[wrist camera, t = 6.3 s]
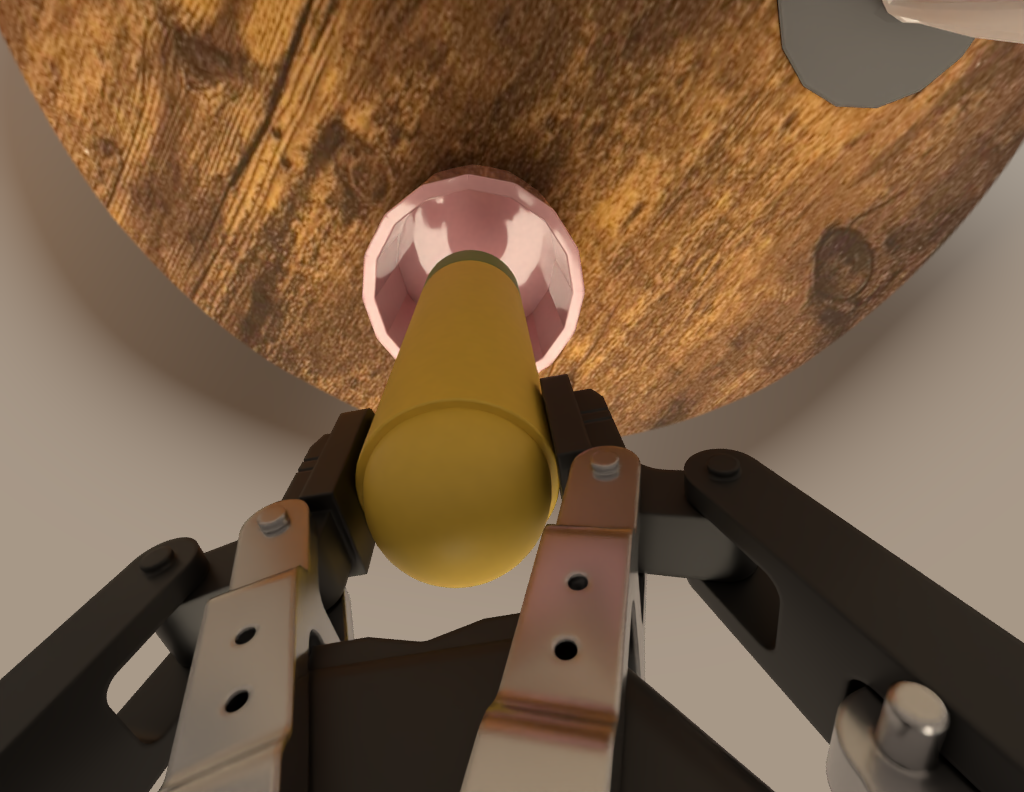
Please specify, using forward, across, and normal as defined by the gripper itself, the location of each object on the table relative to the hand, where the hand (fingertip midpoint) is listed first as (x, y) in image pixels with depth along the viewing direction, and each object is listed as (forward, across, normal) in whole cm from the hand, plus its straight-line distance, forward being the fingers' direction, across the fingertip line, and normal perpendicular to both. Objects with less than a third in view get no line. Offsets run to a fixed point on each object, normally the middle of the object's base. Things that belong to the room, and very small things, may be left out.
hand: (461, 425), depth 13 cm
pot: (+19, 0, 0) cm, 19 cm away
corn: (+11, 0, 0) cm, 11 cm away
